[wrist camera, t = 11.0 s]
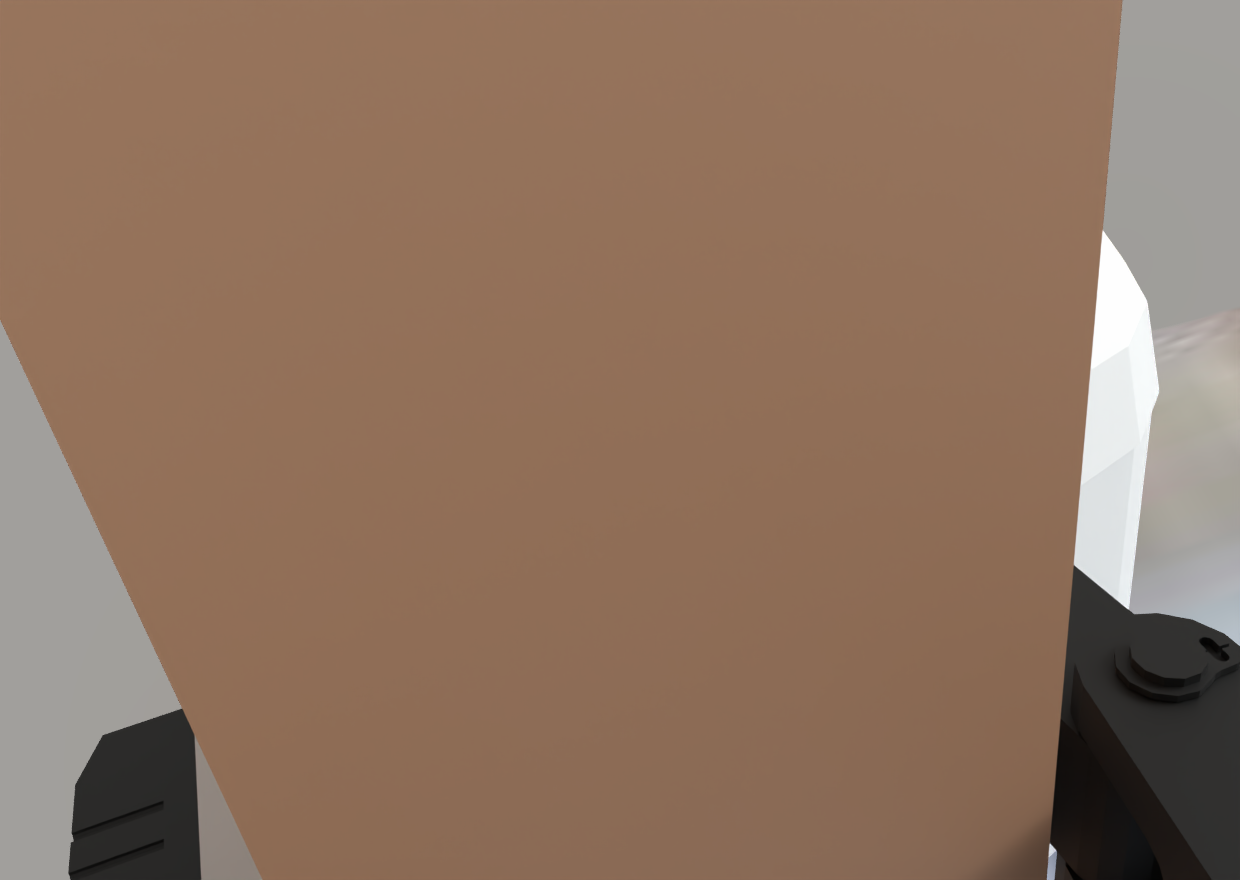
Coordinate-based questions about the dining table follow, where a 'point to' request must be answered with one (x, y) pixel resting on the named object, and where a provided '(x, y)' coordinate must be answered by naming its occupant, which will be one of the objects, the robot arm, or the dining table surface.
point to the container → (1115, 430)
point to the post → (580, 413)
